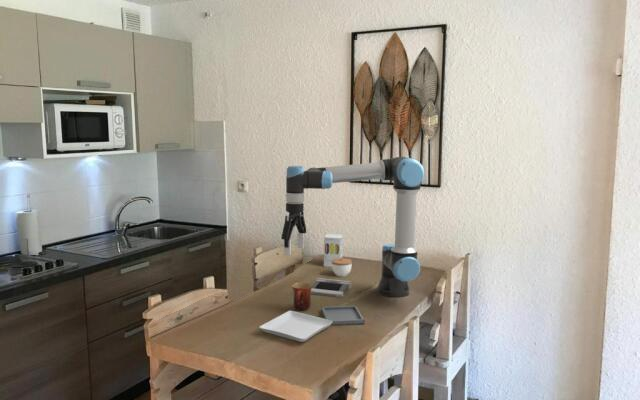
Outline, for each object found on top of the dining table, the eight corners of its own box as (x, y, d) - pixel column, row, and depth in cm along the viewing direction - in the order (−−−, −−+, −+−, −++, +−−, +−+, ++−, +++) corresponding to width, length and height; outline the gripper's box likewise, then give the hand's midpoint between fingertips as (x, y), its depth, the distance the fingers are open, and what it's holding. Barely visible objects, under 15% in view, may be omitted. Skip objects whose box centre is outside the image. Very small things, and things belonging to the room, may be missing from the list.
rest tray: (355, 309, 236) (356, 305, 236) (364, 324, 219) (364, 319, 219) (321, 310, 234) (321, 306, 234) (327, 325, 217) (327, 321, 217)
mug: (294, 304, 242) (294, 281, 240) (314, 305, 240) (314, 283, 239) (287, 313, 230) (287, 290, 229) (308, 315, 229) (308, 291, 227)
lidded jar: (327, 273, 290) (328, 256, 289) (345, 271, 295) (346, 254, 293) (336, 278, 281) (337, 261, 279) (355, 276, 285) (355, 259, 284)
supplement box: (323, 266, 303) (323, 236, 301) (325, 262, 312) (326, 233, 310) (340, 267, 302) (340, 237, 299) (342, 263, 311) (342, 234, 308)
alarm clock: (351, 281, 266) (341, 288, 251) (350, 290, 267) (341, 298, 251) (317, 278, 272) (306, 284, 256) (317, 287, 272) (306, 294, 257)
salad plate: (304, 347, 198) (304, 338, 197) (257, 334, 209) (257, 326, 208) (333, 328, 215) (334, 320, 215) (289, 317, 226) (289, 309, 226)
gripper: (298, 198, 245) (298, 244, 248) (273, 205, 222) (273, 256, 225) (314, 199, 242) (313, 246, 245) (290, 207, 219) (289, 258, 223)
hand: (294, 251), depth 235 cm, fingers open, 13 cm apart
